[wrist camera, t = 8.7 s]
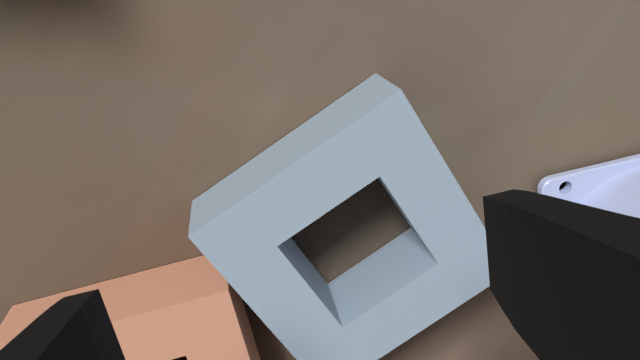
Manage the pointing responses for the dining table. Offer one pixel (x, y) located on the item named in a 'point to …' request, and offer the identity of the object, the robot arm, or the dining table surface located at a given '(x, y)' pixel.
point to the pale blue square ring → (323, 195)
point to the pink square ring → (163, 314)
